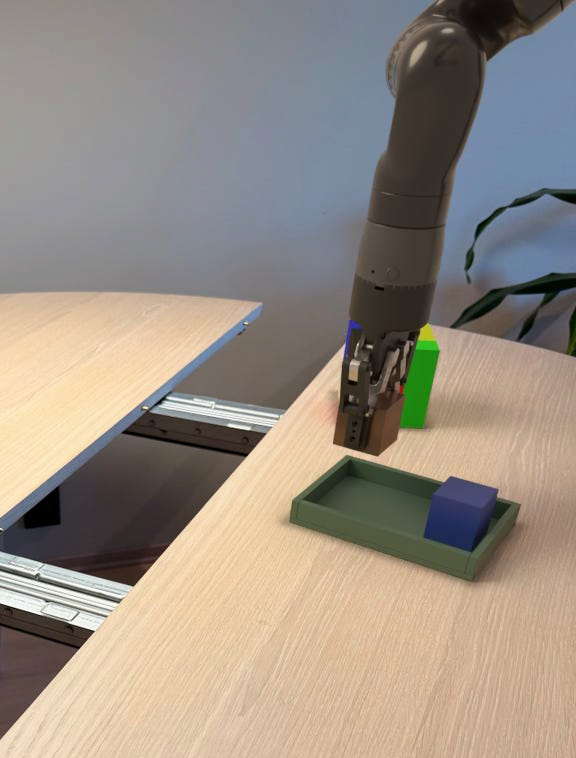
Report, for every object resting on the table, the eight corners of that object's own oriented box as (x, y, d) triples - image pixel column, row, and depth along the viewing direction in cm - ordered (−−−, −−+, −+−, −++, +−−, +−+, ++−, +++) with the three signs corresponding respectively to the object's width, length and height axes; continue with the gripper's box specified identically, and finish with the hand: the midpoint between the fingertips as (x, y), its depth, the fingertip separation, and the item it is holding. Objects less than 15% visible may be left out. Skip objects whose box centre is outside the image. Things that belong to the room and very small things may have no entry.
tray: (515, 525, 104) (521, 503, 102) (471, 581, 95) (477, 558, 93) (343, 475, 113) (346, 454, 111) (288, 521, 104) (291, 499, 102)
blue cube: (487, 532, 101) (499, 488, 98) (471, 552, 98) (483, 508, 95) (440, 518, 104) (450, 475, 101) (422, 537, 100) (432, 493, 97)
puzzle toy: (337, 393, 133) (349, 319, 127) (413, 397, 132) (428, 323, 126) (342, 423, 125) (355, 346, 119) (423, 428, 124) (439, 350, 118)
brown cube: (396, 440, 102) (406, 394, 99) (377, 457, 99) (386, 410, 96) (352, 428, 105) (360, 383, 102) (332, 444, 102) (339, 398, 99)
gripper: (389, 248, 98) (360, 408, 108) (326, 281, 89) (301, 454, 99) (462, 260, 95) (426, 425, 105) (405, 297, 85) (371, 474, 95)
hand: (365, 438), depth 102 cm, fingers closed on brown cube, 5 cm apart
